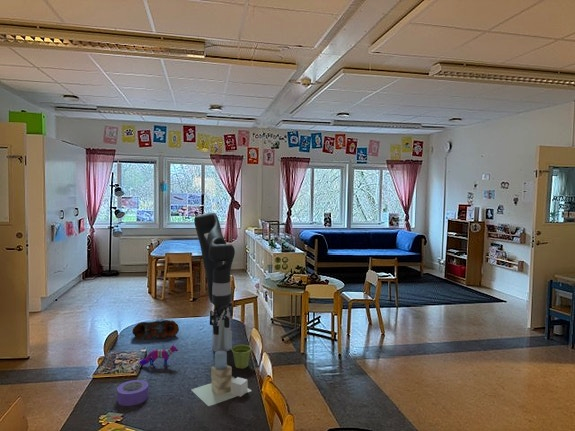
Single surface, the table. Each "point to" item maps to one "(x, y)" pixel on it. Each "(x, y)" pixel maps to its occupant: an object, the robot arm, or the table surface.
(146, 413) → the table surface
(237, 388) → the block
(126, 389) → the tape roll
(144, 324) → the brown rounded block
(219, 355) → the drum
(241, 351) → the plant pot
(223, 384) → the tower base
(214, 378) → the tower top
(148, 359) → the toy dog
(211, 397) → the mat
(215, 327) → the robot arm
